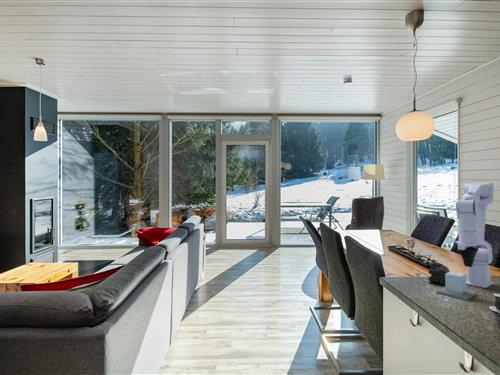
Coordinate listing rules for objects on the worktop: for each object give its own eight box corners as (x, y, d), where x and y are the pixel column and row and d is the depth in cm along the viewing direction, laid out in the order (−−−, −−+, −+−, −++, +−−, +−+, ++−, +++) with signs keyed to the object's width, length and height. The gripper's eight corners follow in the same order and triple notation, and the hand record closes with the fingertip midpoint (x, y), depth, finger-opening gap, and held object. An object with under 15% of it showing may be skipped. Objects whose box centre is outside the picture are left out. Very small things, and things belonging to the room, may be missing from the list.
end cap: (448, 287, 125) (448, 270, 125) (428, 284, 129) (428, 268, 129) (450, 281, 133) (449, 265, 133) (431, 278, 137) (430, 263, 137)
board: (446, 288, 124) (446, 285, 124) (476, 294, 116) (476, 291, 116) (436, 293, 118) (436, 290, 118) (466, 300, 110) (466, 297, 110)
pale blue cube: (451, 288, 120) (450, 271, 120) (466, 291, 116) (465, 274, 116) (445, 290, 117) (445, 273, 117) (461, 294, 113) (460, 276, 113)
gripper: (462, 228, 125) (463, 261, 124) (448, 231, 116) (449, 267, 116) (483, 230, 119) (484, 264, 119) (470, 233, 110) (471, 271, 110)
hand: (468, 266), depth 117 cm, fingers closed
